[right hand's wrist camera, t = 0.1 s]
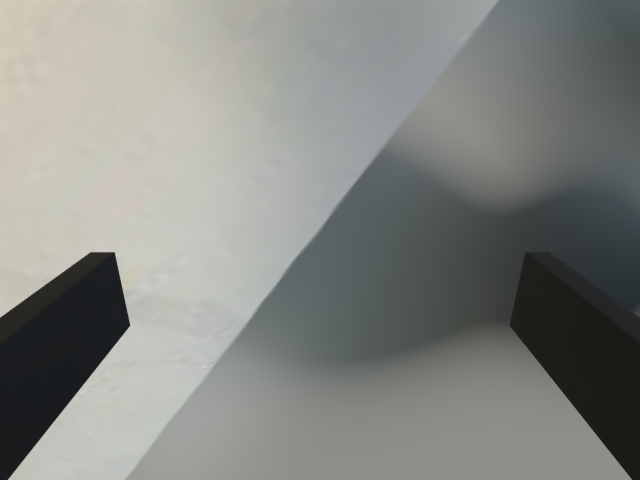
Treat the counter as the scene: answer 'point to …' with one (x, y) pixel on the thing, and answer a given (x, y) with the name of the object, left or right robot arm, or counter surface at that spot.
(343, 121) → the counter surface
